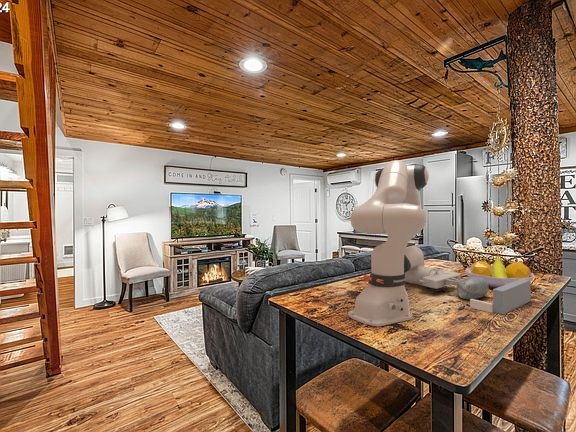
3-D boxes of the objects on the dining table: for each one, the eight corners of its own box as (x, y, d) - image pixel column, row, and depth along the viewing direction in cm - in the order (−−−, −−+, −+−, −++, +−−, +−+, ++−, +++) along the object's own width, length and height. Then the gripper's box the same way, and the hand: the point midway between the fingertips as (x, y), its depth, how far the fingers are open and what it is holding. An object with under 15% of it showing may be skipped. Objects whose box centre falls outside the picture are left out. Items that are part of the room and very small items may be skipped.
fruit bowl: (525, 296, 118) (525, 268, 117) (455, 283, 139) (454, 260, 139) (544, 284, 134) (544, 259, 134) (478, 274, 156) (478, 253, 156)
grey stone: (469, 283, 126) (475, 266, 121) (490, 298, 119) (498, 280, 114) (447, 295, 122) (453, 277, 116) (468, 311, 114) (475, 293, 109)
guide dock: (501, 315, 98) (501, 291, 98) (470, 307, 106) (469, 285, 106) (531, 300, 112) (531, 279, 112) (502, 294, 121) (501, 275, 120)
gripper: (415, 273, 128) (447, 279, 116) (441, 267, 139) (472, 272, 127) (416, 288, 128) (447, 295, 116) (441, 280, 139) (472, 286, 127)
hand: (460, 283), depth 122 cm, fingers closed
